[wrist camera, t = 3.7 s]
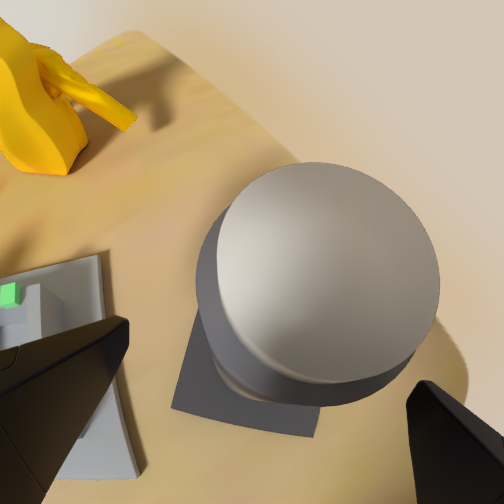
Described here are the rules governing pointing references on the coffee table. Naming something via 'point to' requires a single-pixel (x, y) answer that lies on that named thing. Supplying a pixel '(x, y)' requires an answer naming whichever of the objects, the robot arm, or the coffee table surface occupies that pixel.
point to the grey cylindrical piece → (315, 286)
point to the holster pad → (232, 396)
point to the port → (59, 320)
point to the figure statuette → (46, 106)
